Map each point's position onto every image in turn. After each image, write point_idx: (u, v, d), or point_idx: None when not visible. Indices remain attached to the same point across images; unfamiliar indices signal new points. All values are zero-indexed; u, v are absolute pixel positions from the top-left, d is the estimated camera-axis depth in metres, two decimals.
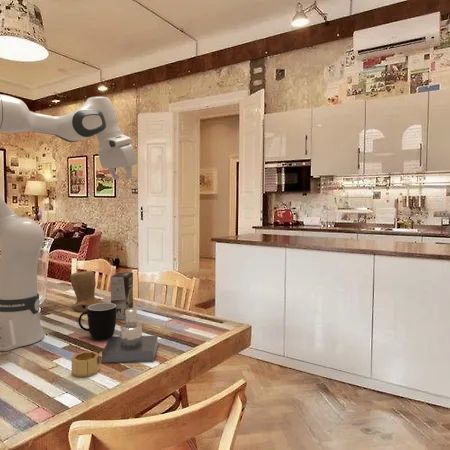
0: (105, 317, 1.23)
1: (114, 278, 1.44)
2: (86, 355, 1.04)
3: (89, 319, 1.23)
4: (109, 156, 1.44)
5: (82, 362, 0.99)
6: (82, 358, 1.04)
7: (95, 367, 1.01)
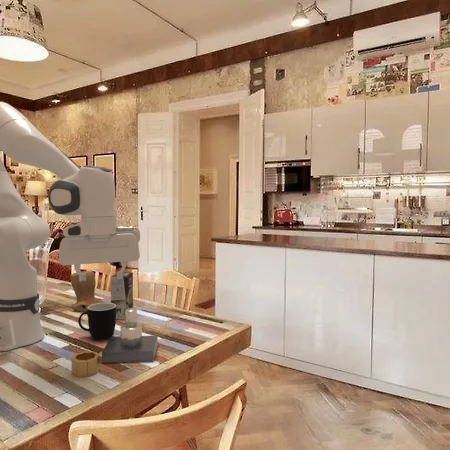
0: (105, 317, 1.23)
1: (114, 278, 1.44)
2: (86, 355, 1.04)
3: (89, 319, 1.23)
4: None
5: (82, 362, 0.99)
6: (82, 358, 1.04)
7: (95, 367, 1.01)
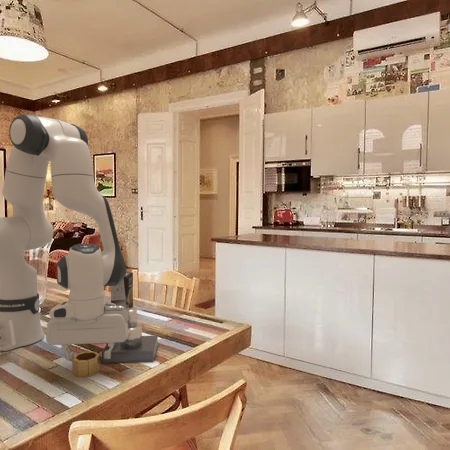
0: None
1: None
2: (87, 355, 1.05)
3: None
4: None
5: (83, 362, 0.99)
6: (83, 358, 1.04)
7: (96, 367, 1.01)
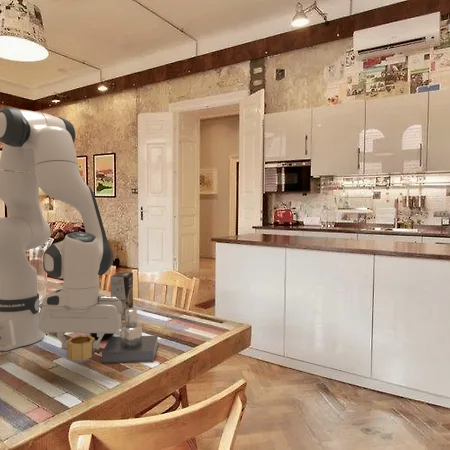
0: None
1: (114, 278, 1.44)
2: (82, 339, 1.04)
3: None
4: None
5: (77, 345, 0.98)
6: (78, 342, 1.03)
7: (90, 351, 1.00)
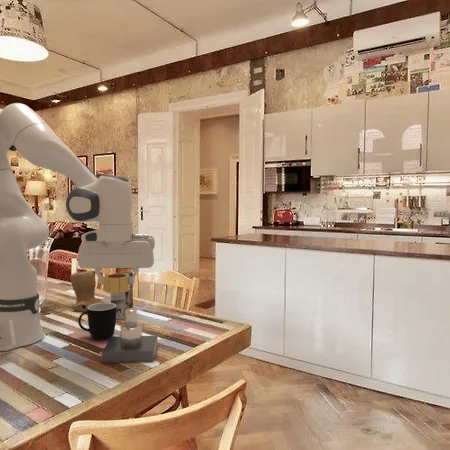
0: (105, 317, 1.23)
1: None
2: (117, 277, 1.11)
3: (89, 319, 1.23)
4: None
5: (114, 279, 1.05)
6: None
7: (126, 285, 1.07)
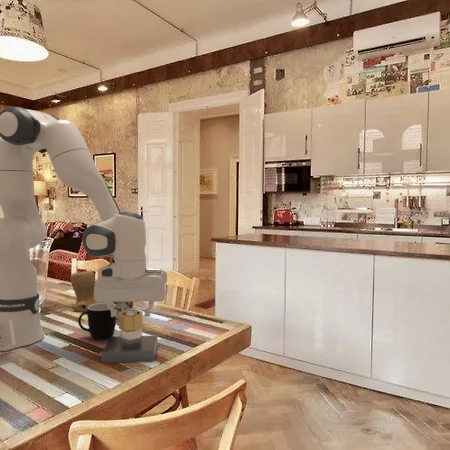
0: (105, 317, 1.23)
1: None
2: None
3: (89, 319, 1.23)
4: None
5: (129, 317, 1.10)
6: None
7: (140, 322, 1.12)
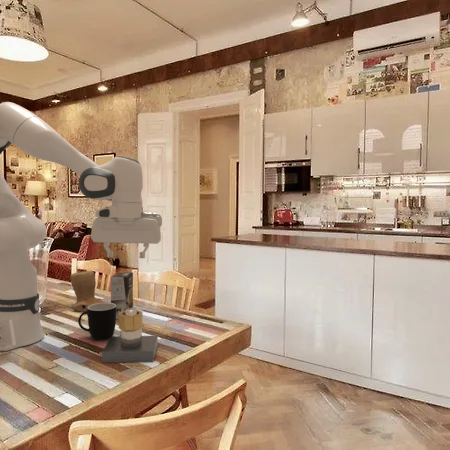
0: (105, 317, 1.23)
1: (114, 278, 1.44)
2: None
3: (89, 319, 1.23)
4: None
5: (129, 317, 1.10)
6: None
7: (140, 322, 1.12)
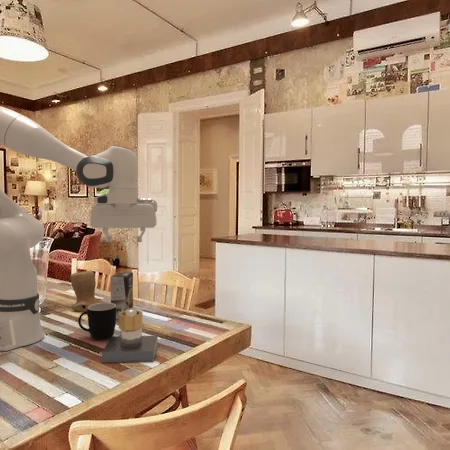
0: (105, 317, 1.23)
1: (114, 278, 1.44)
2: None
3: (89, 319, 1.23)
4: None
5: (129, 317, 1.10)
6: None
7: (140, 322, 1.12)
